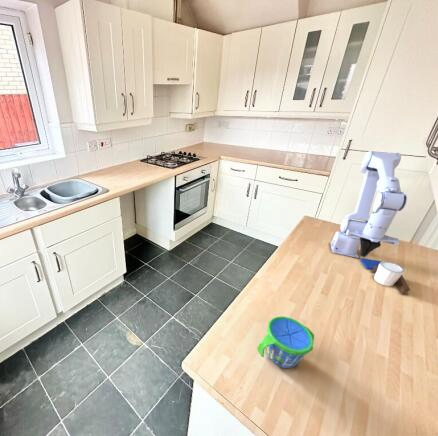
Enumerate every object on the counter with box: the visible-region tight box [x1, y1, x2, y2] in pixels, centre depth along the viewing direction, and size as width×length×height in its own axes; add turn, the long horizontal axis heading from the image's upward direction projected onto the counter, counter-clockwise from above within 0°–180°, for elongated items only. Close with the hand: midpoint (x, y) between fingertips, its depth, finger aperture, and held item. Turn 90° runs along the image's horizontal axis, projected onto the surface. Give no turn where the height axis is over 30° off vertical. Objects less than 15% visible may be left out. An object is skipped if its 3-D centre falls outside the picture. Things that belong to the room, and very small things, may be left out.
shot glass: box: [373, 260, 406, 287], centre depth 91 cm, size 7×7×7 cm
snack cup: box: [256, 315, 315, 369], centre depth 66 cm, size 16×10×10 cm
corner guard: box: [371, 265, 411, 296], centre depth 92 cm, size 8×11×3 cm
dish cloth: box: [359, 257, 382, 271], centre depth 100 cm, size 8×7×1 cm
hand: (362, 255), depth 92 cm, fingers closed
